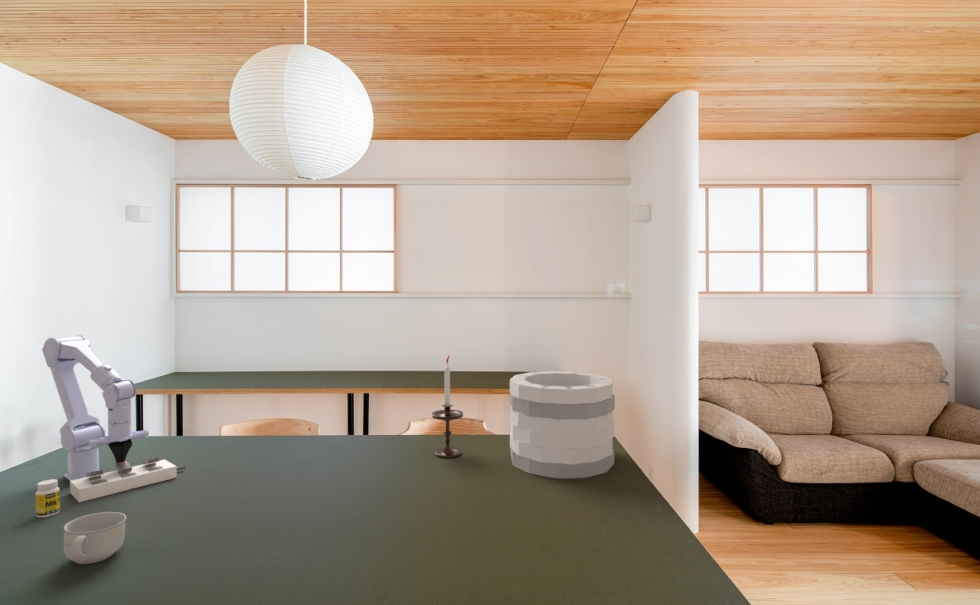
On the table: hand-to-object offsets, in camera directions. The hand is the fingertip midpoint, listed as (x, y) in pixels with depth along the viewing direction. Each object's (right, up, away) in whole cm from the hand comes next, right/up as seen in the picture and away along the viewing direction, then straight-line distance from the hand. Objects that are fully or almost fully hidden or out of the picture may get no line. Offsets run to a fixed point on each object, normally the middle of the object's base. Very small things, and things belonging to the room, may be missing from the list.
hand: (120, 465), depth 156 cm
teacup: (+27, -6, -46) cm, 53 cm away
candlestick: (+97, -4, +25) cm, 100 cm away
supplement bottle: (-2, -6, -23) cm, 23 cm away
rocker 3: (+7, 0, +3) cm, 8 cm away
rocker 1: (-2, 0, -7) cm, 8 cm away
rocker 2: (+3, 0, -2) cm, 3 cm away
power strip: (+5, -5, -1) cm, 7 cm away
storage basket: (+136, -4, +18) cm, 137 cm away
